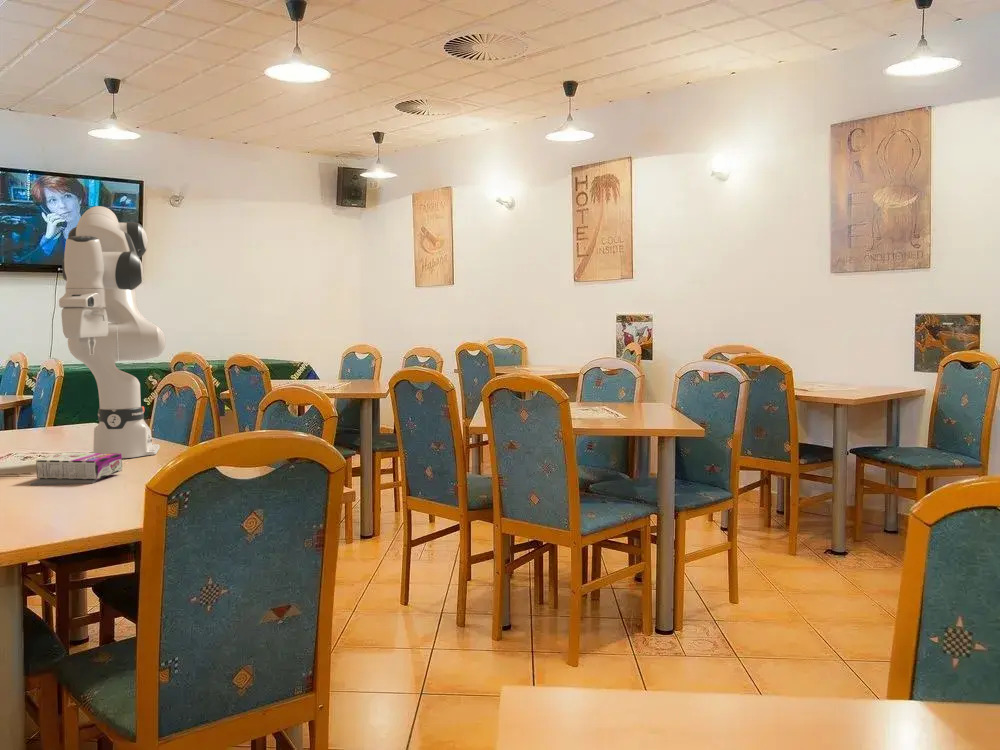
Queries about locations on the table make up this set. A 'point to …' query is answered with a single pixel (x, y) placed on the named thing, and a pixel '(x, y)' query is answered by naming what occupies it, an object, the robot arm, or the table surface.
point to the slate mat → (63, 481)
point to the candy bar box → (79, 465)
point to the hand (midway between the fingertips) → (88, 355)
